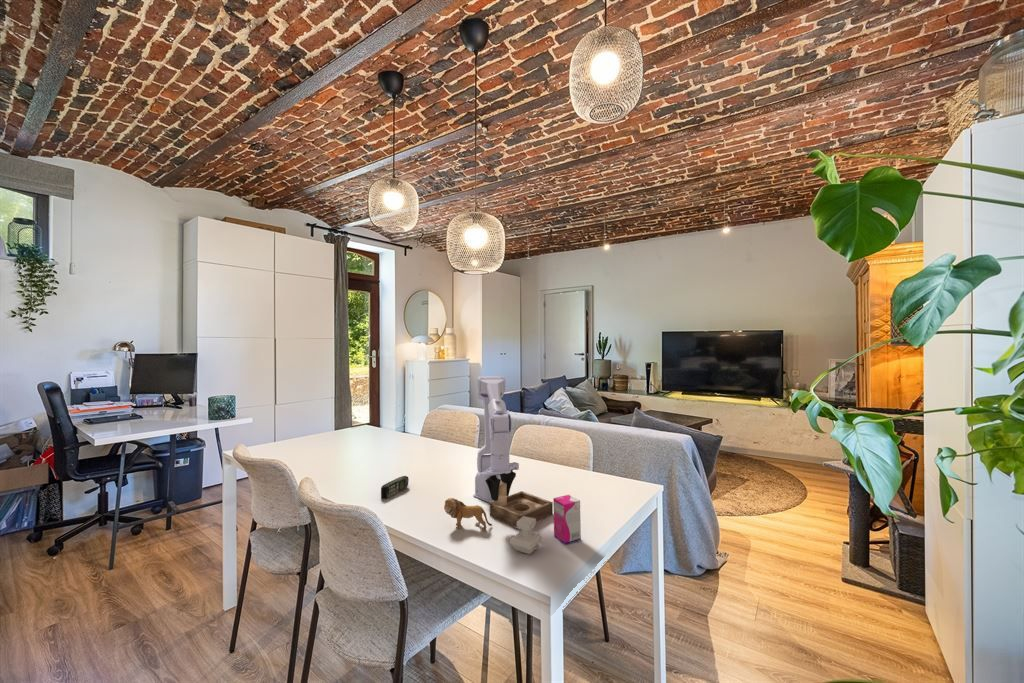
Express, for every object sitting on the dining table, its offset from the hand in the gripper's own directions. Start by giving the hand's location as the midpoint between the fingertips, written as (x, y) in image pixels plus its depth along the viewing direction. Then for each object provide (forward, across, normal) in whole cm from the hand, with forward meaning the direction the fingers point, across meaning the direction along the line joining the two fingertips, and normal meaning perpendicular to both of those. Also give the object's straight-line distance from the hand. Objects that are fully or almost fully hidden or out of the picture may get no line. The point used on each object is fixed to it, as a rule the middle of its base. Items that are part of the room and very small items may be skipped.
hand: (500, 497), depth 126 cm
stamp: (+9, -4, -15) cm, 18 cm away
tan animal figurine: (+9, -8, +7) cm, 14 cm away
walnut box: (+9, +11, +1) cm, 14 cm away
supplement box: (+9, +9, -19) cm, 23 cm away
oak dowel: (+2, 0, 0) cm, 2 cm away
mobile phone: (+10, -8, +48) cm, 50 cm away
